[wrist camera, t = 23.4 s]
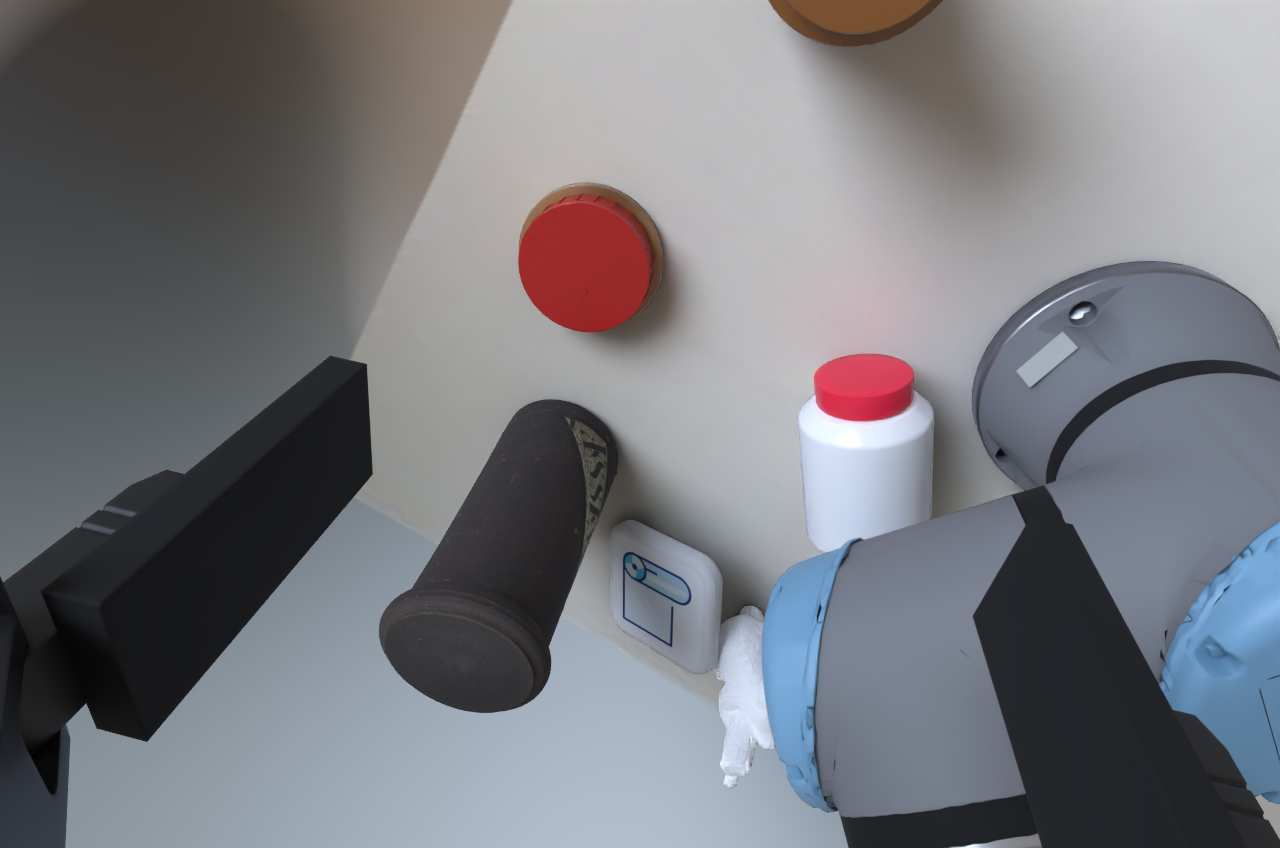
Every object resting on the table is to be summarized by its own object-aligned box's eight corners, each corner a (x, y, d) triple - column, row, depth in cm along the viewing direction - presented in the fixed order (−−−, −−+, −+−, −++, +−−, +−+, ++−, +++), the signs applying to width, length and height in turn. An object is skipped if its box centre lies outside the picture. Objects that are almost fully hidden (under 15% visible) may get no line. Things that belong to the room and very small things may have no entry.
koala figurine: (766, 672, 60) (763, 810, 50) (693, 642, 60) (675, 775, 50) (815, 608, 56) (822, 745, 46) (735, 576, 56) (725, 707, 45)
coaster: (676, 199, 42) (674, 201, 41) (650, 338, 47) (649, 342, 46) (526, 168, 42) (523, 170, 42) (517, 308, 47) (514, 312, 47)
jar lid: (543, 173, 42) (533, 181, 40) (672, 221, 42) (668, 230, 40) (514, 295, 46) (505, 306, 44) (632, 338, 46) (627, 351, 45)
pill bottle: (836, 480, 51) (828, 339, 46) (948, 506, 47) (954, 353, 41) (785, 544, 46) (770, 394, 41) (905, 581, 42) (906, 418, 37)
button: (605, 518, 54) (713, 571, 48) (621, 509, 55) (728, 560, 49) (606, 625, 58) (706, 687, 52) (621, 615, 59) (720, 675, 53)
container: (589, 514, 55) (501, 750, 39) (485, 456, 54) (348, 674, 37) (644, 437, 50) (571, 669, 34) (532, 372, 49) (398, 579, 33)
